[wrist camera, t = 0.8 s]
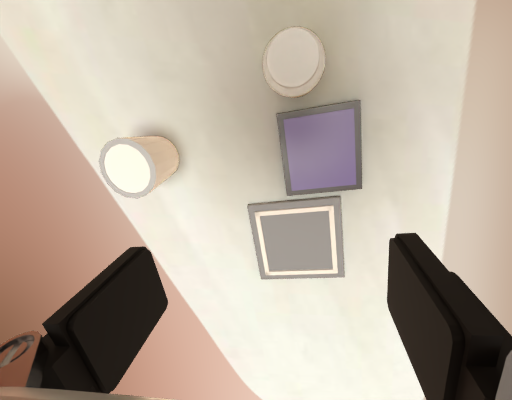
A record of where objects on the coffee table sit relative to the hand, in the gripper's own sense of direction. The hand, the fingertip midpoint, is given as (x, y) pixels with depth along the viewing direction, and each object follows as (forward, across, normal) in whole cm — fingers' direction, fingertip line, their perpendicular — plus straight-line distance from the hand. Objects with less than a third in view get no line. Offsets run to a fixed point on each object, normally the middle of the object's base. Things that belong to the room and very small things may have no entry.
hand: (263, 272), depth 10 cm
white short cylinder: (+23, +17, -2) cm, 29 cm away
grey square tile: (+23, 0, +12) cm, 26 cm away
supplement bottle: (+23, -2, -9) cm, 25 cm away
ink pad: (+23, -4, 0) cm, 23 cm away
